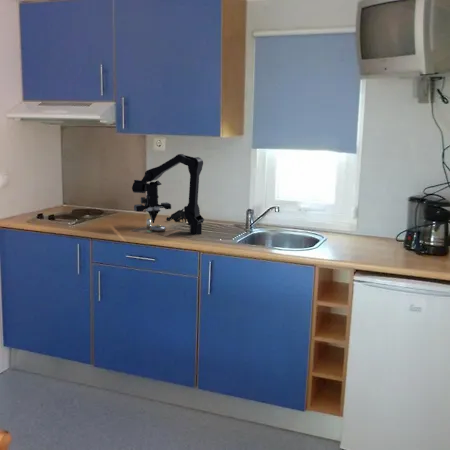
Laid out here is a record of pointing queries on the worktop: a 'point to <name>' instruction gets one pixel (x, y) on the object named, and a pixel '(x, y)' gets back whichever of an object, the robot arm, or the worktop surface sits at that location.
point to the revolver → (177, 216)
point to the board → (165, 233)
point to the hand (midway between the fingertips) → (153, 223)
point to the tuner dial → (155, 227)
